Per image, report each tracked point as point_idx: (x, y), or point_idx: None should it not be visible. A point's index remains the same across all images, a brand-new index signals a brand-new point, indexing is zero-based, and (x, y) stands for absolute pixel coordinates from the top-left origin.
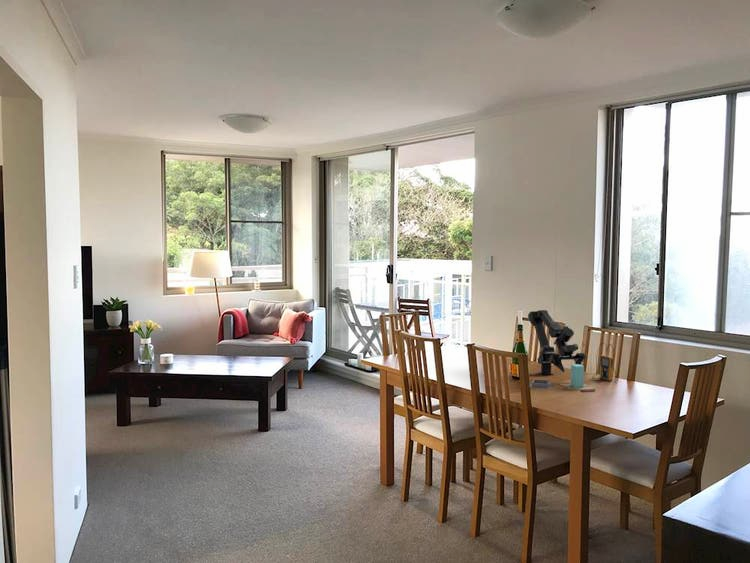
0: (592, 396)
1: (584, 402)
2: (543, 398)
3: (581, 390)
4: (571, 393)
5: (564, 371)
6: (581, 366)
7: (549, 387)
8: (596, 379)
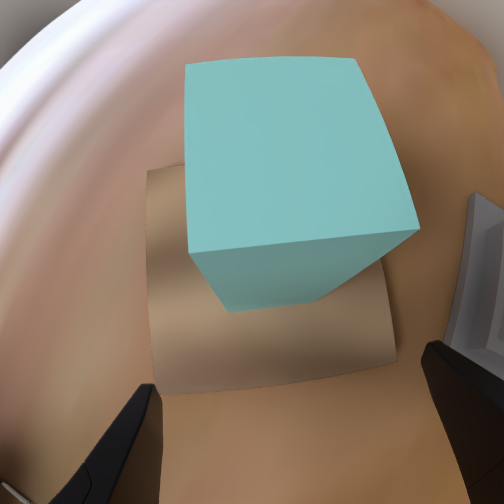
0: None
1: (321, 18)
2: (482, 95)
3: None
4: None
5: (427, 343)
6: (240, 61)
7: (479, 244)
8: (19, 495)
